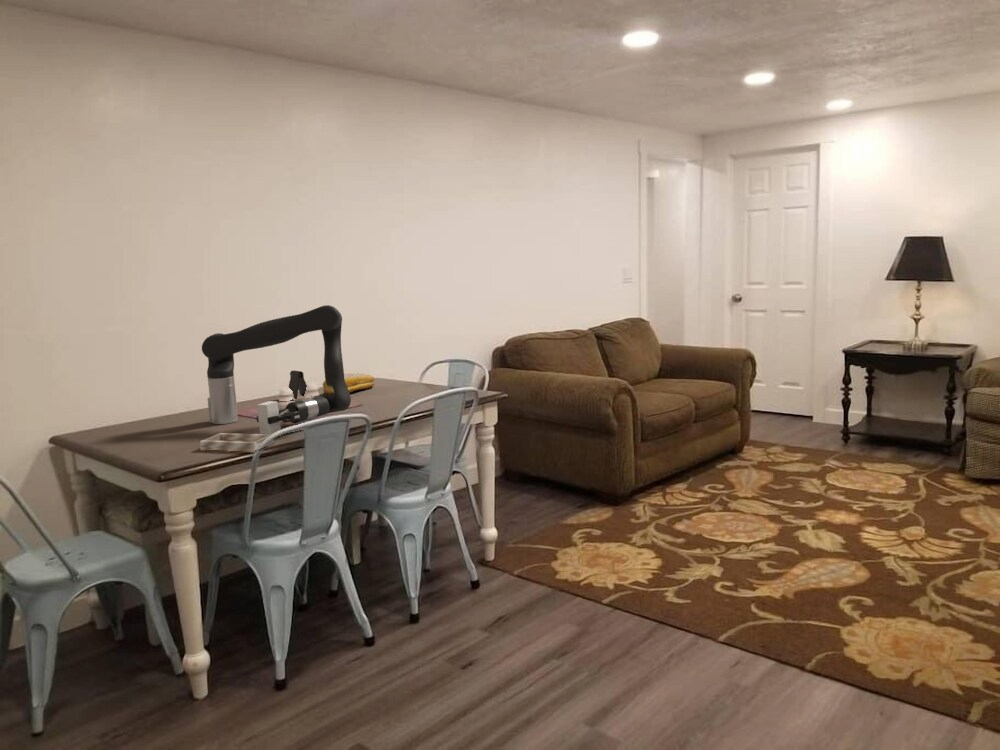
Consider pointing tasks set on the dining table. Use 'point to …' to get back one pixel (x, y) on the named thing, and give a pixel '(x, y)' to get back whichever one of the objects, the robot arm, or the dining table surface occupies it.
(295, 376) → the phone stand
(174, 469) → the dining table surface
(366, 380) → the bread
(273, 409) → the skincare box
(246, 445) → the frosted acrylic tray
